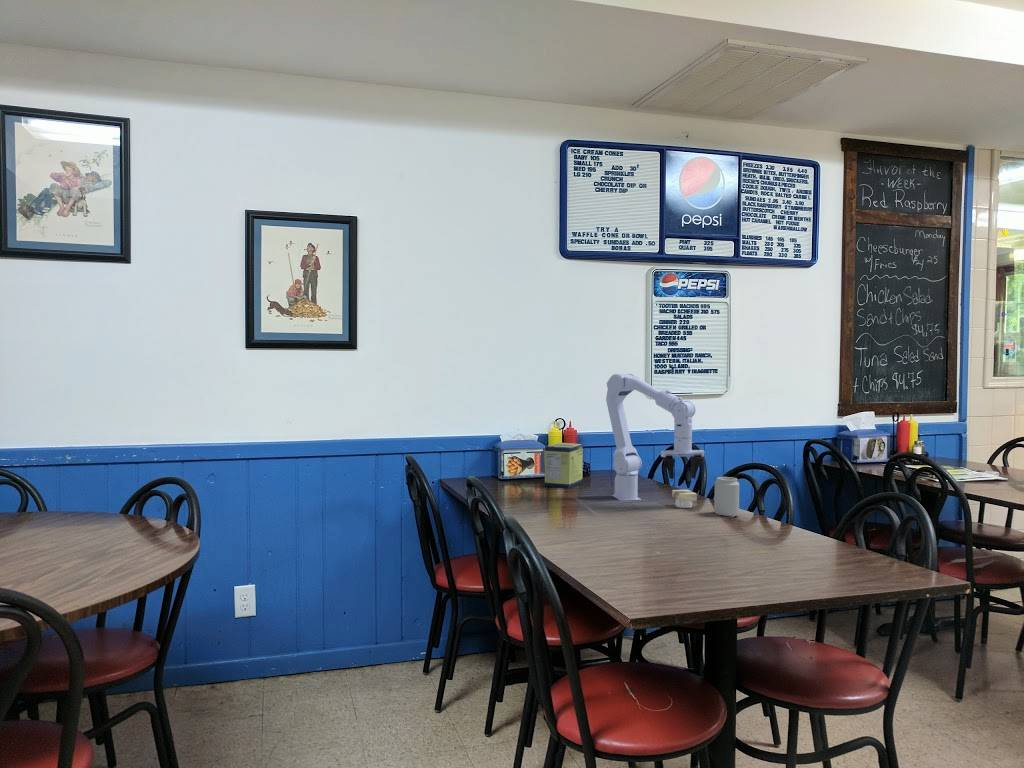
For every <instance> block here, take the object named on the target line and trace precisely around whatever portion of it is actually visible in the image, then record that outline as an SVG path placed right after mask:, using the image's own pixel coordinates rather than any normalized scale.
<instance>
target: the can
mask: <svg viewBox="0 0 1024 768" xmlns="http://www.w3.org/2000/svg"><path fill="white" fill-rule="evenodd" d="M716 479H717V480H715V482H714V499H713V500H714V504H713V505H714V506H713V507H714V509H713V510H714V514H716V515H717V516H718V515H719V516H725V517H732V518H735V516H736V517H737V516H738V515H739V514H740V483H739V481H738V478H737V477H732V476H730V477H729V476H719V477H716Z"/></svg>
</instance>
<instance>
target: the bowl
mask: <svg viewBox="0 0 1024 768" xmlns="http://www.w3.org/2000/svg"><path fill="white" fill-rule="evenodd" d="M675 507H676V508H681V509H682V508H683V509H688V508H689V509H690V508H692V507H693V501H679V500H677V499H675Z"/></svg>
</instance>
